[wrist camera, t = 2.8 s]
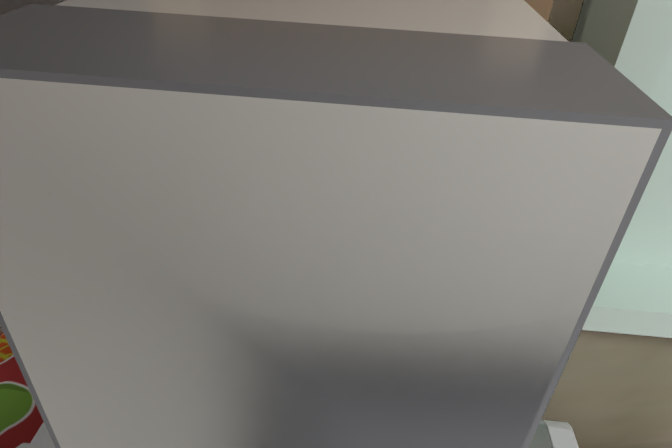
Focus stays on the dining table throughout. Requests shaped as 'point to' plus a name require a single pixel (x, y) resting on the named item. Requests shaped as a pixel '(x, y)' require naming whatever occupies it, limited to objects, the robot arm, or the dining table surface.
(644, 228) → the tray
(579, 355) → the dining table surface
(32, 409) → the smoothie
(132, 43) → the block
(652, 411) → the dining table surface
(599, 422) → the dining table surface
